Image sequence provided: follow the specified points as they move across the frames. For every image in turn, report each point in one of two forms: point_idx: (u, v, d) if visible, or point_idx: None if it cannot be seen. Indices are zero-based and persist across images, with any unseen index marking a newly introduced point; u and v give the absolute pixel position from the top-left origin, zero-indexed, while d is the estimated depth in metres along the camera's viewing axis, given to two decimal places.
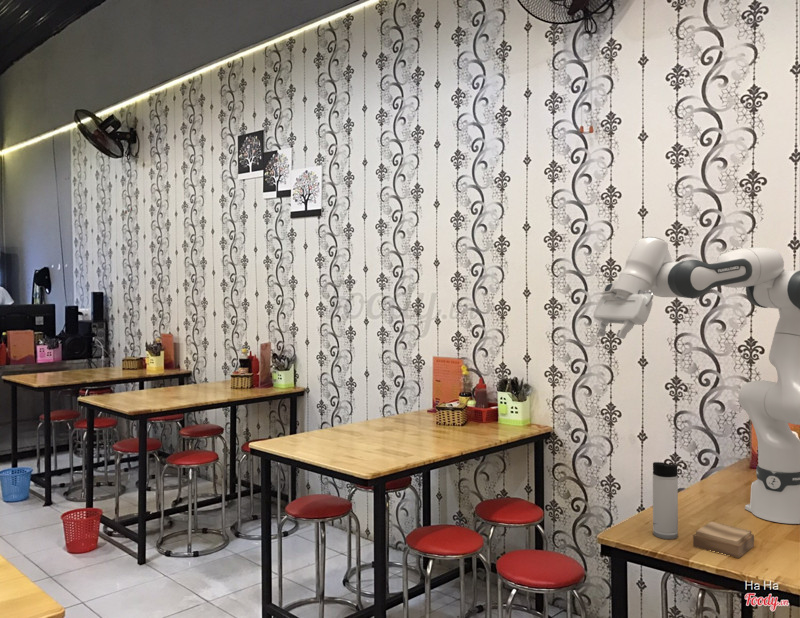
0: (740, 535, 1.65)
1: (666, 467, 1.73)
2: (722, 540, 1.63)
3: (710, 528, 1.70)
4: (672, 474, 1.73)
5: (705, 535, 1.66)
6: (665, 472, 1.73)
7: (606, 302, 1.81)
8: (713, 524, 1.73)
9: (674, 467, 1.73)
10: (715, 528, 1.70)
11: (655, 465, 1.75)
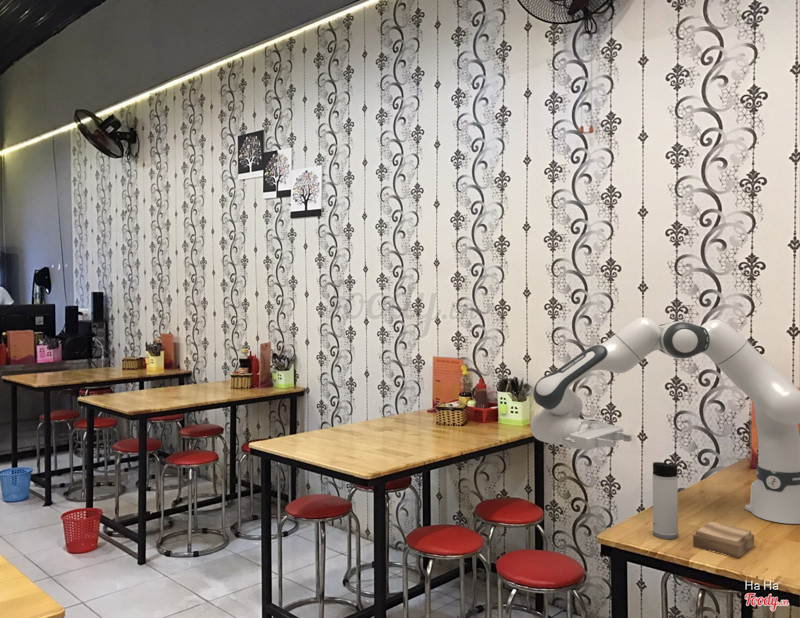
0: (740, 535, 1.65)
1: (666, 467, 1.73)
2: (722, 540, 1.63)
3: (710, 528, 1.70)
4: (672, 474, 1.73)
5: (705, 535, 1.66)
6: (665, 472, 1.73)
7: None
8: (713, 524, 1.73)
9: (674, 467, 1.73)
10: (715, 528, 1.70)
11: (655, 465, 1.75)
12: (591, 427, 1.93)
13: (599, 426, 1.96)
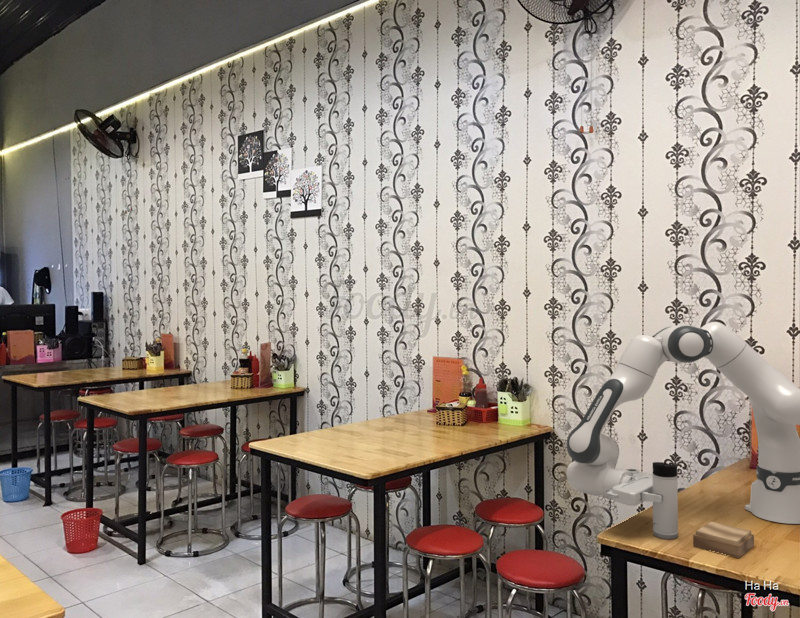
0: (740, 535, 1.65)
1: (666, 467, 1.73)
2: (722, 540, 1.63)
3: (710, 528, 1.70)
4: (672, 474, 1.73)
5: (705, 535, 1.66)
6: (665, 472, 1.73)
7: None
8: (713, 524, 1.73)
9: (674, 467, 1.73)
10: (715, 528, 1.70)
11: (655, 465, 1.75)
12: (633, 479, 1.84)
13: (641, 477, 1.87)
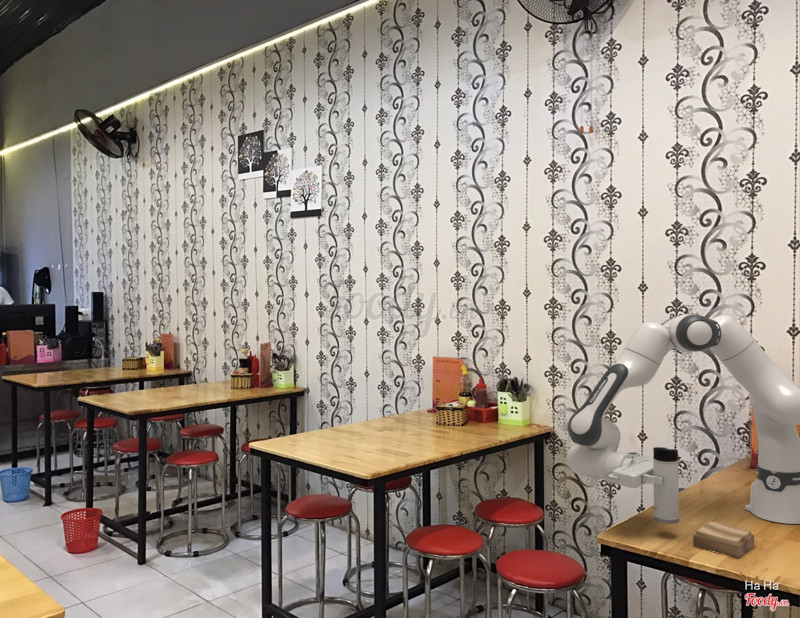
0: (740, 535, 1.65)
1: (667, 452, 1.73)
2: (722, 540, 1.63)
3: (710, 528, 1.70)
4: (673, 458, 1.73)
5: (705, 535, 1.66)
6: (666, 456, 1.73)
7: None
8: (713, 524, 1.73)
9: (675, 452, 1.73)
10: (715, 528, 1.70)
11: (655, 450, 1.75)
12: (634, 462, 1.83)
13: (641, 460, 1.86)
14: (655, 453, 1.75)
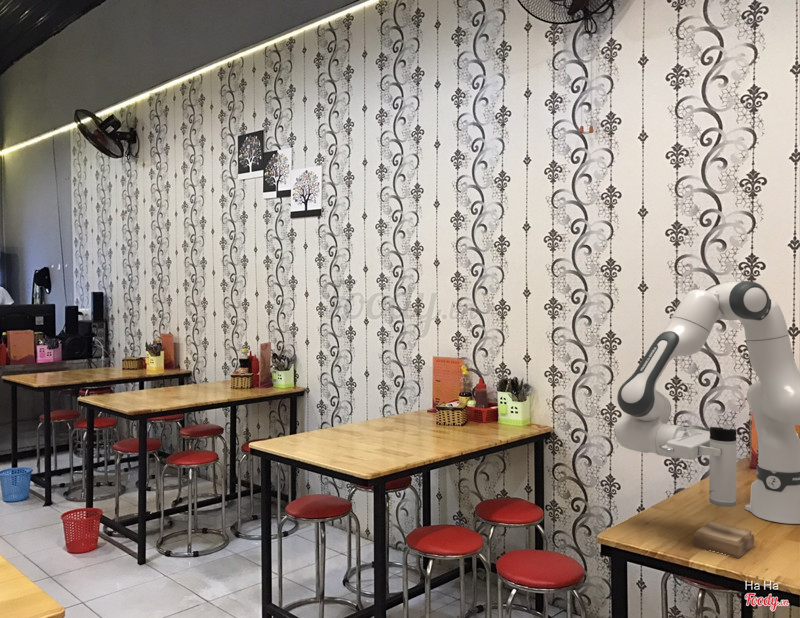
0: (740, 535, 1.65)
1: (725, 431, 1.64)
2: (722, 540, 1.63)
3: (710, 528, 1.70)
4: (732, 438, 1.65)
5: (705, 535, 1.66)
6: (725, 436, 1.65)
7: None
8: (713, 524, 1.73)
9: (734, 431, 1.65)
10: (715, 528, 1.70)
11: (713, 429, 1.67)
12: (687, 434, 1.75)
13: (694, 433, 1.78)
14: (712, 433, 1.67)
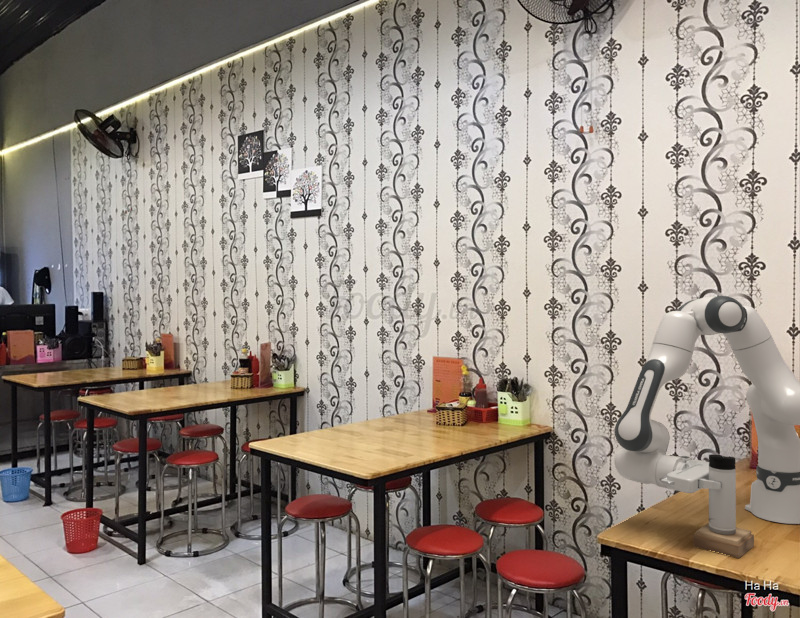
0: (740, 535, 1.65)
1: (725, 459, 1.65)
2: (722, 540, 1.63)
3: None
4: (731, 466, 1.65)
5: (705, 535, 1.66)
6: (724, 464, 1.65)
7: None
8: None
9: (733, 459, 1.65)
10: None
11: (712, 457, 1.67)
12: (687, 466, 1.75)
13: (694, 464, 1.78)
14: (712, 461, 1.67)
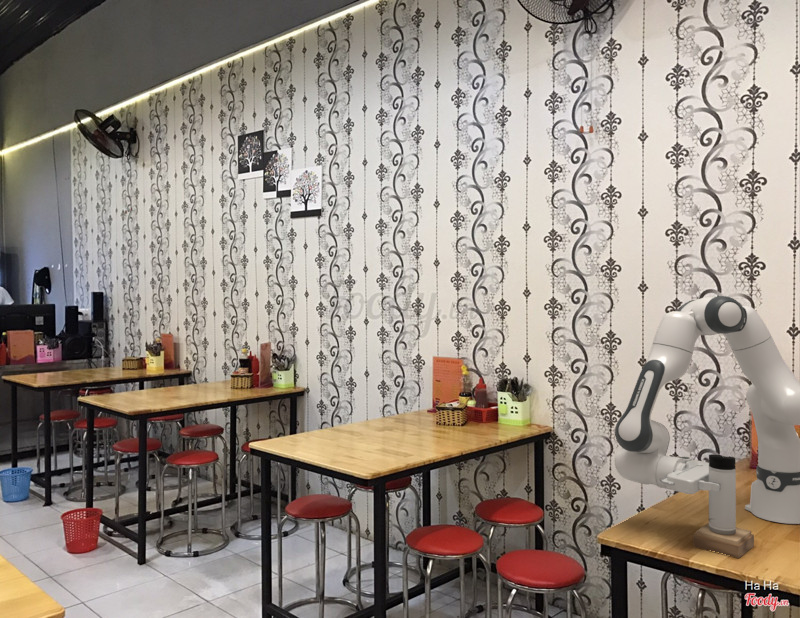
0: (740, 535, 1.65)
1: (725, 459, 1.65)
2: (722, 540, 1.63)
3: None
4: (731, 466, 1.65)
5: (705, 535, 1.66)
6: (724, 464, 1.65)
7: None
8: None
9: (733, 459, 1.65)
10: None
11: (712, 457, 1.67)
12: (687, 466, 1.75)
13: (694, 464, 1.78)
14: (711, 461, 1.67)
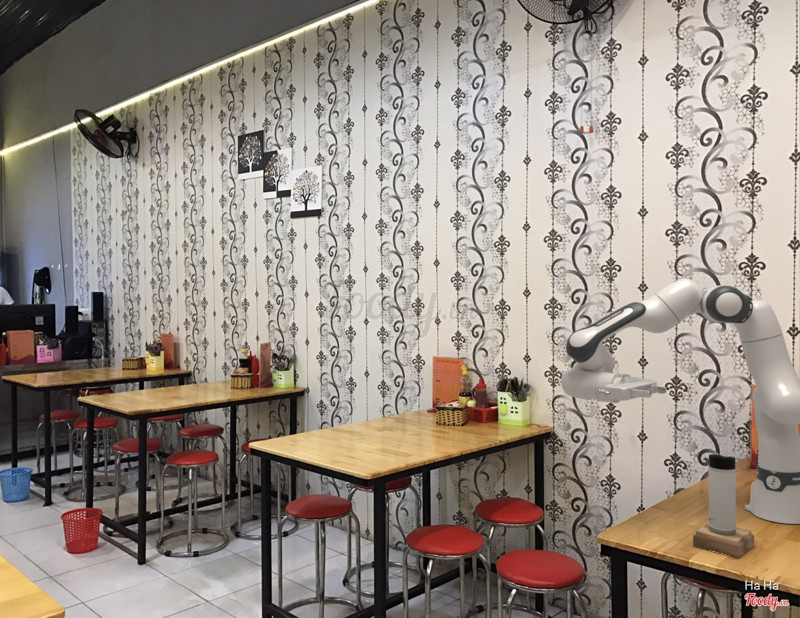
0: (740, 535, 1.65)
1: (725, 459, 1.65)
2: (722, 540, 1.63)
3: None
4: (731, 466, 1.65)
5: (705, 535, 1.66)
6: (724, 464, 1.65)
7: None
8: None
9: (733, 459, 1.65)
10: None
11: (712, 457, 1.67)
12: (624, 380, 1.90)
13: (632, 380, 1.93)
14: (712, 461, 1.67)
